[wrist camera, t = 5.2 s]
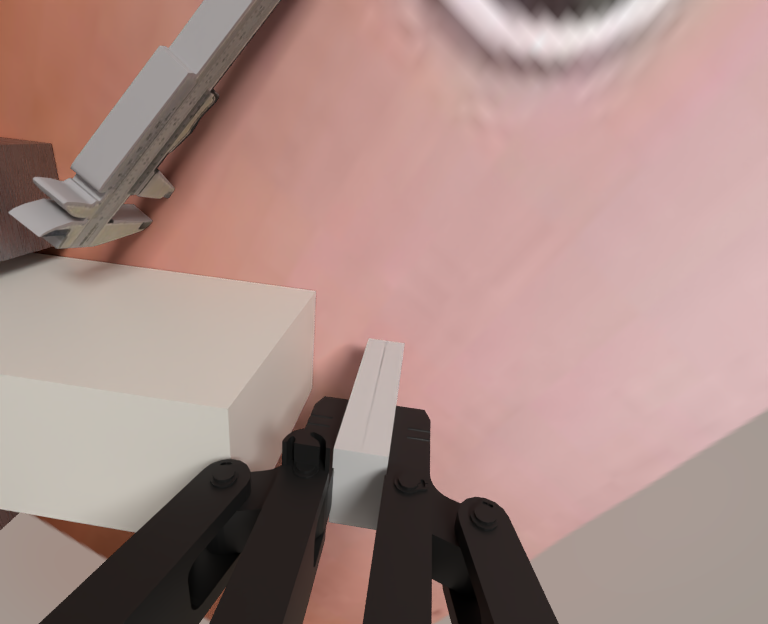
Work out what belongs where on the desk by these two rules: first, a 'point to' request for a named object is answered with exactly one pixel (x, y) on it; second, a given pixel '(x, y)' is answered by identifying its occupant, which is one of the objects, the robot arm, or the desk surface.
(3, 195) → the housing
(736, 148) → the desk surface
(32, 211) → the caliper
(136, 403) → the plug
